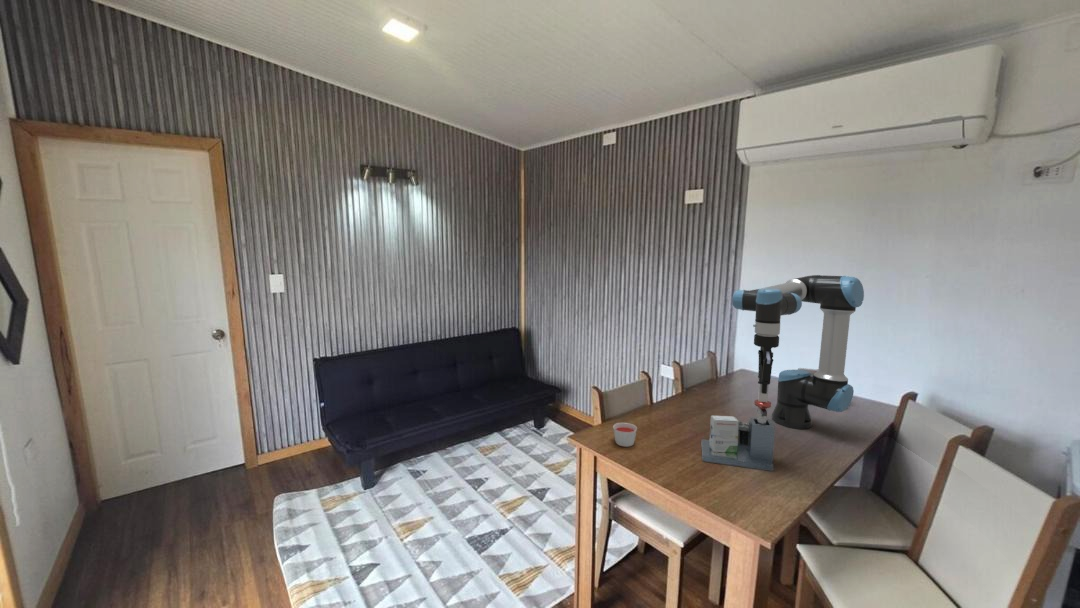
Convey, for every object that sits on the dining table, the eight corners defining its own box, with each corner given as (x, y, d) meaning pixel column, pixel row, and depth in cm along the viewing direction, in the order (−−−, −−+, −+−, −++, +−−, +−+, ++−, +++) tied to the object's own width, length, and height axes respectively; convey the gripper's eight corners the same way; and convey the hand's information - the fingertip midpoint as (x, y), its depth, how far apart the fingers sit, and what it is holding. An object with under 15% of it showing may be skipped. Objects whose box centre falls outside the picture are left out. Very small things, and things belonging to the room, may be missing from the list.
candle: (622, 450, 157) (623, 434, 156) (608, 440, 165) (608, 425, 164) (641, 445, 161) (641, 429, 160) (626, 436, 169) (626, 421, 168)
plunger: (766, 439, 151) (768, 398, 149) (770, 450, 143) (773, 407, 141) (750, 437, 153) (753, 397, 151) (754, 448, 144) (756, 405, 143)
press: (767, 452, 154) (769, 415, 152) (774, 471, 141) (777, 431, 139) (701, 444, 161) (702, 408, 160) (702, 461, 148) (704, 423, 146)
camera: (754, 439, 165) (755, 415, 164) (754, 449, 157) (756, 423, 156) (711, 432, 171) (712, 409, 170) (710, 441, 163) (711, 417, 162)
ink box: (712, 452, 150) (714, 420, 149) (708, 445, 155) (710, 414, 154) (738, 453, 149) (739, 421, 148) (732, 446, 154) (734, 415, 153)
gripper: (751, 330, 150) (748, 394, 153) (757, 337, 138) (753, 406, 141) (775, 331, 148) (771, 396, 151) (783, 338, 136) (778, 409, 138)
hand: (762, 401), depth 146 cm, fingers closed, pressing on plunger
